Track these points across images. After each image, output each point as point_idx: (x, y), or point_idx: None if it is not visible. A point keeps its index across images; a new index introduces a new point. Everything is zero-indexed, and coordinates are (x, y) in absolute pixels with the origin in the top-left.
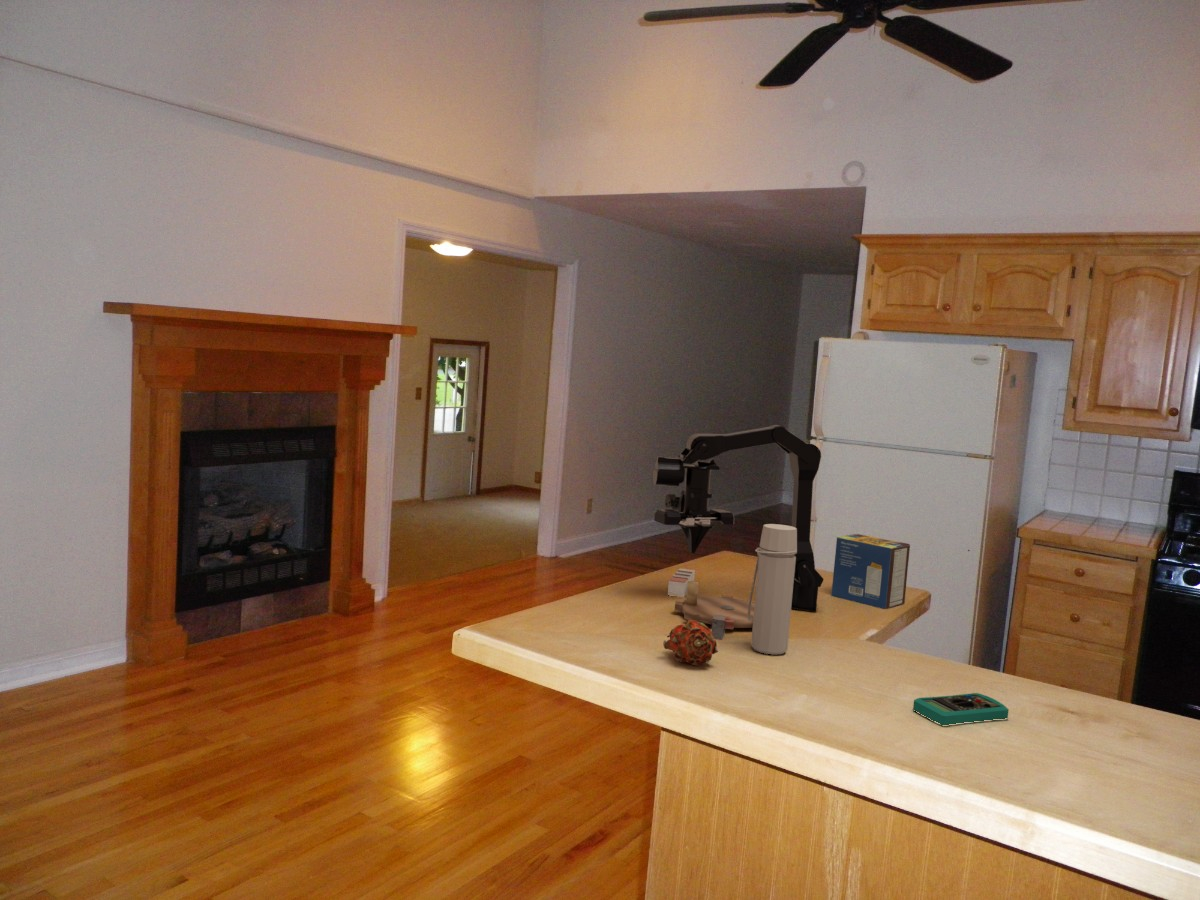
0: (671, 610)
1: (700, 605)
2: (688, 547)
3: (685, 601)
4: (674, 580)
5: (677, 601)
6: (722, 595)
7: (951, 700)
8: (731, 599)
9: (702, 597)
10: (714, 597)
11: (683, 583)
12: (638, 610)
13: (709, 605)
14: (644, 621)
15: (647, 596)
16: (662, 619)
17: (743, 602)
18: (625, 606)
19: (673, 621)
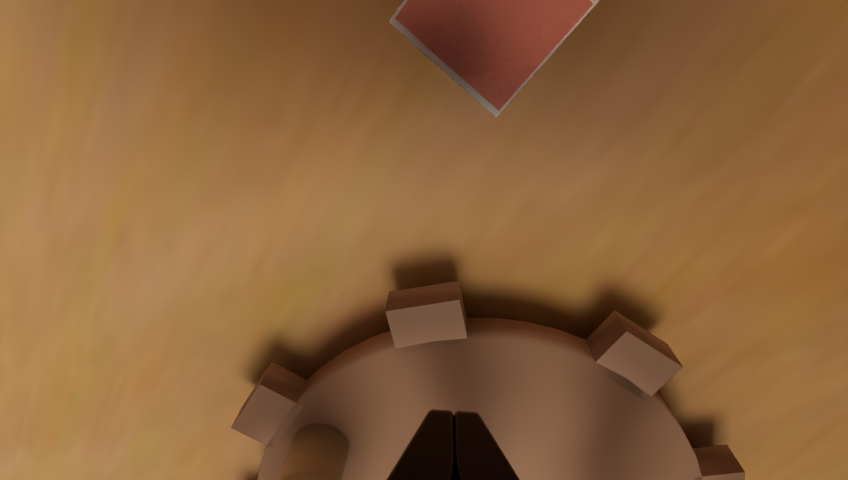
0: (273, 320)
1: (359, 468)
2: (403, 459)
3: (313, 400)
4: (433, 43)
5: (266, 391)
6: (630, 337)
7: None
8: (617, 415)
9: (465, 352)
10: (543, 363)
11: (485, 107)
12: (93, 289)
13: None
14: (80, 433)
15: (244, 9)
16: (171, 427)
17: (640, 470)
18: (36, 209)
19: (211, 457)
